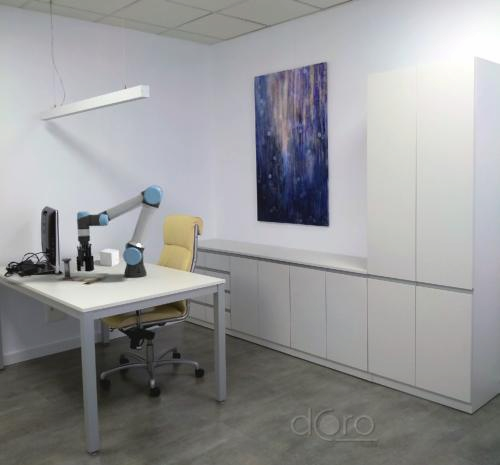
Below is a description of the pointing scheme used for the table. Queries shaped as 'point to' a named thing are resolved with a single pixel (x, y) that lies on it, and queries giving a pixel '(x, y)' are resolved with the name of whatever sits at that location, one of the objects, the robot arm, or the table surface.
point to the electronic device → (86, 263)
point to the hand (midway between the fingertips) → (85, 270)
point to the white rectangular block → (109, 257)
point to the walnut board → (83, 279)
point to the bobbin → (67, 268)
